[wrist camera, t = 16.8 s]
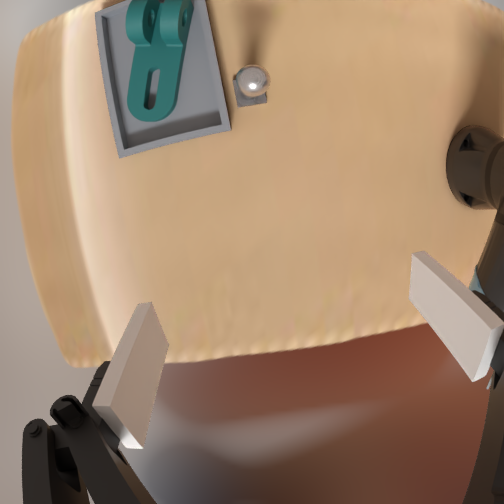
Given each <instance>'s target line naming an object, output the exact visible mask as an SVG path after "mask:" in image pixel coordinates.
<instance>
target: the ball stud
mask: <svg viewBox="0 0 504 504" xmlns="http://www.w3.org/2000/svg"><path fill="white" fill-rule="evenodd" d="M233 85H234V90H235V95H236V100H237V105H238V108H239V107H245V106H251V105H257V104H263V103H267V100H266V94H265V92H266V91H267V89H268V88H269V86H270V75H269V73H268V72H267V70H266V69H265V68H263V67H262V66H259V65H255V64H251V65H247V66H244V67H243V68H241V69H240V70H239V72H238V73H237V75H236V80H233Z"/></svg>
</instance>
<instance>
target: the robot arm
mask: <svg viewBox="0 0 504 504" xmlns="http://www.w3.org/2000/svg"><path fill="white" fill-rule="evenodd" d="M446 171H447V179H448V183H449V186H450V189H451V191H452V193H453V195H454V196H455V198H456V199H457V200H458V201H459V202H461V203H462V204H464V205H466V206H468V207H470V208H473V209H497V214H496V217H495V220H494V223H493V226H492V228H491V231H490V234H489V237H488V239H487V242H486V245H485V247H484V250H483V252H482V255H481V257H480V260H479V262H478V264H477V265H476V267H475V270H474V272H475V273H474V275H473V278H472V280H471V283H470V285H469V289H468V288H467V287H466V286H465V285H464V284H463V283H462V282H461V281H459V280H458V279H457V278H456V277H455V276H454V275H453V274H451V273H450V272H449V271H448V270H447V269H446V268H444V267H443V266H442V265H441V264H440V263H438V262H437V261H436V260H435V259H434V258H432V257H431V256H430V255H429V254H428V253H426V252H425V251H421V252H416V253H412V263H411V279H410V292H409V300H410V301H411V302H412V304H413V305H414V306H415V307H416V309H417V310H418V311H419V312H420V313H421V315H422V316H423V317H424V318H425V320H426V321H427V322H428V323H429V325H430V326H431V327H432V328H433V330H434V331H435V332H436V334H437V335H438V336H439V337H440V339H441V340H442V341H443V343H444V344H445V345H446V347H447V348H448V349H449V351H450V352H451V353H452V355H453V356H454V357H455V358H456V360H457V361H458V363H459V364H460V365H461V367H462V368H463V370H464V371H465V372H466V374H467V375H468V376H469V378H470V379H471V381H472V382H474V381H476V380H478V379H480V378H482V377H484V376H486V374H487V371H488V369H489V367H490V366H491V367H492V368H493V369H494V372H493V375H492V377H491V379H490V381H489V383H488V386H487V389H489V387H490V385H491V388H490V396H489V402H488V409H487V414H486V420H485V425H484V430H483V435H482V439H481V444H480V448H479V452H478V456H477V460H476V463H475V467H474V470H473V473H472V477H471V480H470V483H469V486H468V489H467V492H466V495H465V498H464V500H463V503H462V504H504V139H503V138H502V137H500V136H499V135H498V134H496V133H495V132H493V131H492V130H490V129H488V128H485V127H481V126H468V127H465V128H463V129H462V130H461V131H459V132H458V133H457V135H456V136H455V137H454V139H453V141H452V143H451V145H450V148H449V151H448V155H447V162H446ZM168 347H169V343H168V341H167V339H166V336H165V334H164V332H163V329H162V327H161V324H160V322H159V319H158V317H157V314H156V312H155V309H154V307H153V304H152V302H148V303H141V304H138V305H137V307H136V309H135V311H134V313H133V315H132V317H131V319H130V321H129V323H128V325H127V327H126V329H125V332H124V334H123V336H122V338H121V340H120V342H119V344H118V347H117V349H116V351H115V353H114V355H113V357H112V360H111V361H105V362H104V363H103V364H102V365H101V366H100V367H99V368H98V369H97V371H96V373H95V375H94V379H93V380H92V382H91V384H90V387H89V388H88V391H87V393H86V395H85V397H84V400H83V402H82V404H81V403H80V402H79V400H78V399H77V398H76V397H75V396H72V395H65V396H63V397H60V398H59V399H58V400H56V401H55V402H54V403H53V405H52V407H51V409H50V415H51V417H52V418H53V419H54V420H55V421H56V422H57V425H52V426H49V425H48V424H47V423H46V422H45V421H44V420H43V419H34V420H32V421H30V422H29V423H28V424H27V425H26V427H25V428H24V432H23V444H22V488H23V504H90V502H89V497H88V493H87V489H88V491H89V493H90V495H91V497H92V499H93V501H94V503H95V504H157V503H156V502H155V501H154V499H153V498H152V497H151V495H150V494H149V492H148V491H147V490H146V488H145V487H144V485H143V484H142V483H141V481H140V480H139V478H138V477H137V476H136V474H135V472H134V471H133V469H132V468H131V466H130V465H129V463H128V462H127V460H126V458H125V457H124V455H123V454H122V452H121V451H120V450H119V449H118V445H119V442H120V441H121V442H122V443H123V444H124V445H125V447H126V448H136V449H137V448H138V449H143V448H144V444H145V439H146V435H147V430H148V426H149V422H150V417H151V413H152V409H153V405H154V401H155V397H156V393H157V388H158V385H159V381H160V377H161V373H162V369H163V365H164V362H165V358H166V354H167V350H168ZM86 487H87V488H86Z"/></svg>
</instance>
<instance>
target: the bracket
mask: <svg viewBox="0 0 504 504" xmlns="http://www.w3.org/2000/svg"><path fill="white" fill-rule="evenodd" d="M193 10H194V7H193V5H192V2H191V0H165V1H164V3H160V2H159V1H158V0H132V1H131V2H130V4H129V7H128V10H127V14H126V21H125V27H126V34H127V37H128V39H129V40H130V41H131V42H133V43H134V44H135V51H134V56H133V62H132V68H131V74H130V80H129V87H128V94H127V106H128V109H129V111H130V113H131V114H132V115H133V116H134V117H135V118H136V119H138V120H140V121H144V122H157V121H160V120H163V119H165V118H166V117H168V116H169V115H170V114H171V113H172V112H173V110H174V109H175V107H176V104H177V100H178V93H179V86H180V80H181V73H182V67H183V61H184V56H185V50H186V45H187V40H188V34H189V29H190V25H191V20H192V15H193ZM157 69H160V75H159V82H158V88H157V95H156V102H155V106H154V108H153V109H151V110H150V109H149V107H148V102H149V95H150V88H151V81H152V75H153V72H154V71H155V70H157Z"/></svg>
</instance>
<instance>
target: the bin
mask: <svg viewBox="0 0 504 504" xmlns="http://www.w3.org/2000/svg"><path fill="white" fill-rule="evenodd" d="M131 1H132V0H126V1H123V2H120V3H118V4H115V5H113V6H110V7H108V8H105V9H103V10H100V11H98V12H96V13H95V21H96V31H97V39H98V47H99V55H100V62H101V69H102V75H103V81H104V87H105V93H106V98H107V104H108V109H109V114H110V119H111V124H112V129H113V133H114V138H115V142H116V147H117V151H118V155H119V158H123V157H126V156H129V155H133V154H136V153H139V152H143V151H146V150H150V149H153V148H157V147H161V146H165V145H168V144H172V143H176V142H180V141H184V140H189V139H193V138H197V137H201V136H206V135H211V134H215V133H220V132H225V131H230V130H231V126H230V121H229V116H228V111H227V105H226V100H225V95H224V90H223V85H222V80H221V75H220V70H219V65H218V60H217V55H216V50H215V45H214V40H213V35H212V31H211V26H210V21H209V16H208V11H207V6H206V1H205V0H191V2H192V5H193V7H194V10H193V15H192V20H191V25H190V29H189V34H188V40H187V45H186V50H185V56H184V61H183V67H182V73H181V80H180V86H179V93H178V100H177V104H176V107H175V109H174V110H173V112H172V113H171V114H170V115H169V116H168V117H166V118H165V119H163V120H160V121H157V122H144V121H140V120H138V119H136V118H135V117H134V116H133V115H132V114H131V113H130V111H129V109H128V106H127V94H128V87H129V80H130V74H131V68H132V62H133V56H134V51H135V44H134V43H133V42H131V41H130V40H129V39H128V37H127V34H126V27H125V21H126V14H127V10H128V7H129V4H130V2H131ZM158 1H159V2H160V3H164V1H165V0H158ZM159 75H160V69H157V70H155V71H154V72H153V75H152V81H151V88H150V95H149V102H148V107H149V109H150V110H151V109H153V108H154V106H155V102H156V95H157V88H158V82H159Z"/></svg>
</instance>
